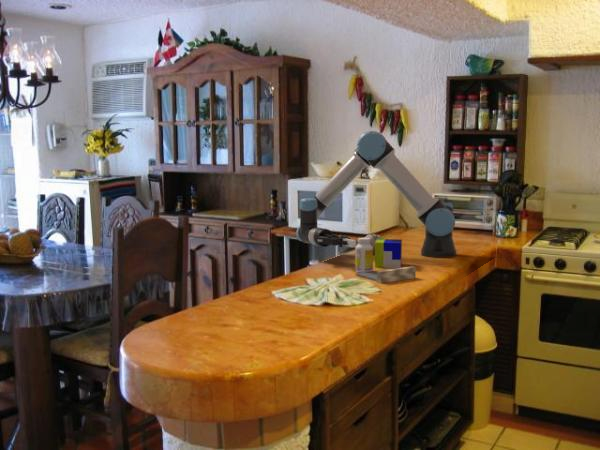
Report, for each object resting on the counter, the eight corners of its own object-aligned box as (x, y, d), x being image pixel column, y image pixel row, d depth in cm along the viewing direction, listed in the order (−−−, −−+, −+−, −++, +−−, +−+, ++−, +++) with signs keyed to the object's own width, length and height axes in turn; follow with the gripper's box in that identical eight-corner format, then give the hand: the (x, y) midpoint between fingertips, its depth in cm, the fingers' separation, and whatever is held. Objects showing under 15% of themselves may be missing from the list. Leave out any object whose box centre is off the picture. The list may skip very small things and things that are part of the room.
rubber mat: (385, 271, 237) (385, 269, 236) (409, 277, 225) (409, 275, 225) (355, 275, 229) (355, 273, 229) (379, 281, 217) (379, 280, 217)
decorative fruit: (386, 254, 274) (386, 232, 273) (370, 256, 271) (370, 233, 270) (376, 251, 283) (376, 229, 282) (360, 252, 280) (360, 231, 279)
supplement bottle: (374, 270, 238) (374, 237, 237) (370, 273, 232) (370, 239, 231) (357, 269, 241) (357, 236, 239) (353, 272, 234) (353, 239, 233)
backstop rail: (411, 277, 225) (411, 266, 225) (415, 278, 223) (415, 267, 223) (376, 282, 217) (377, 271, 216) (380, 283, 215) (380, 272, 215)
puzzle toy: (400, 268, 243) (400, 243, 242) (374, 267, 245) (375, 242, 244) (401, 263, 253) (401, 239, 252) (376, 263, 255) (377, 239, 254)
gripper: (333, 244, 264) (367, 251, 244) (307, 247, 258) (340, 255, 237) (333, 227, 263) (367, 233, 243) (307, 229, 257) (340, 235, 237)
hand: (353, 243), depth 240 cm, fingers closed
